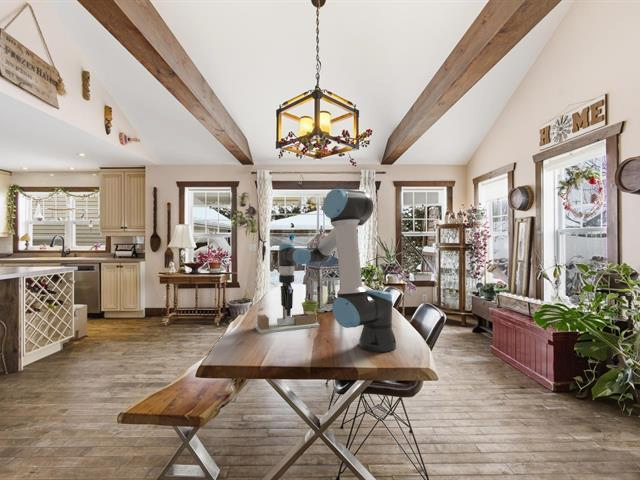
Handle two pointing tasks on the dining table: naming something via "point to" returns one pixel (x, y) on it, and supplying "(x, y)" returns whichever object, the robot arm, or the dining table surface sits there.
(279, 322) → the slide bar
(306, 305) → the plant pot
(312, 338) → the dining table surface
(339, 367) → the dining table surface
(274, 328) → the board
